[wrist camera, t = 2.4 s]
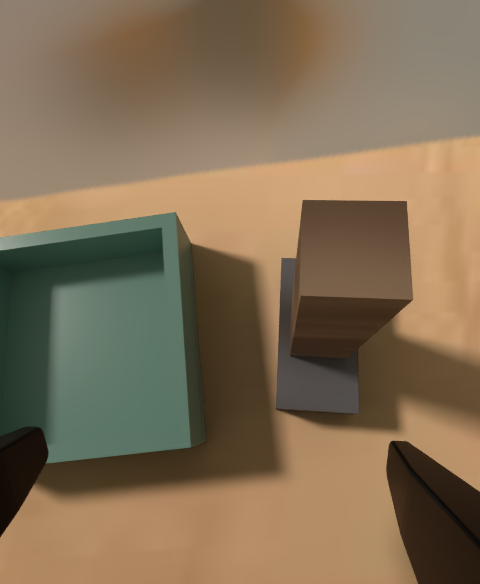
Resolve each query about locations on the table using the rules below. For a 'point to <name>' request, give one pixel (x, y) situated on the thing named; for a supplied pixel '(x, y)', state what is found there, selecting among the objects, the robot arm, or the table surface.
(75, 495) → the table surface
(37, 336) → the box
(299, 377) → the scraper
